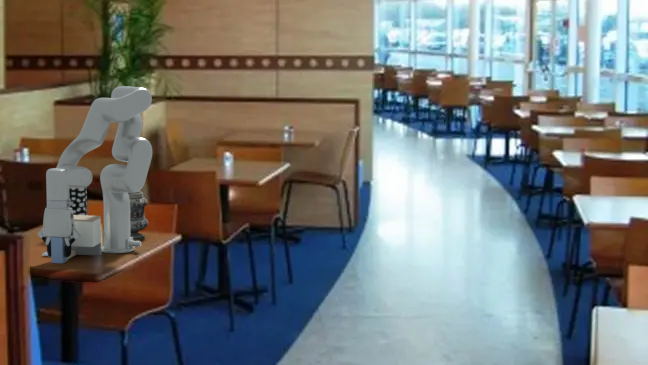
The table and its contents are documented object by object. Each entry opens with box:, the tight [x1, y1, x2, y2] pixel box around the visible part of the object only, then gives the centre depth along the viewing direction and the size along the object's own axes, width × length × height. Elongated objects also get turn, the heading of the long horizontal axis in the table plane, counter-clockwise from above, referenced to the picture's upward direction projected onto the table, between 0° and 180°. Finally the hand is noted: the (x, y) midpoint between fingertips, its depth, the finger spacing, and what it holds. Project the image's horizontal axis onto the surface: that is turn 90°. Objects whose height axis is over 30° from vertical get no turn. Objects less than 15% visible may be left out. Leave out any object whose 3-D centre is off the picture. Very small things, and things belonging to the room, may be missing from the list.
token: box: [41, 251, 51, 258], centre depth 348 cm, size 5×5×2 cm
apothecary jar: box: [128, 190, 149, 241], centre depth 379 cm, size 12×12×18 cm
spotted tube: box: [69, 186, 88, 215], centre depth 385 cm, size 8×8×20 cm
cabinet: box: [71, 214, 102, 256], centre depth 346 cm, size 12×8×14 cm
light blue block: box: [50, 237, 77, 264], centre depth 342 cm, size 4×14×9 cm, turn 173°
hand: (59, 255), depth 338 cm, fingers open, 5 cm apart
